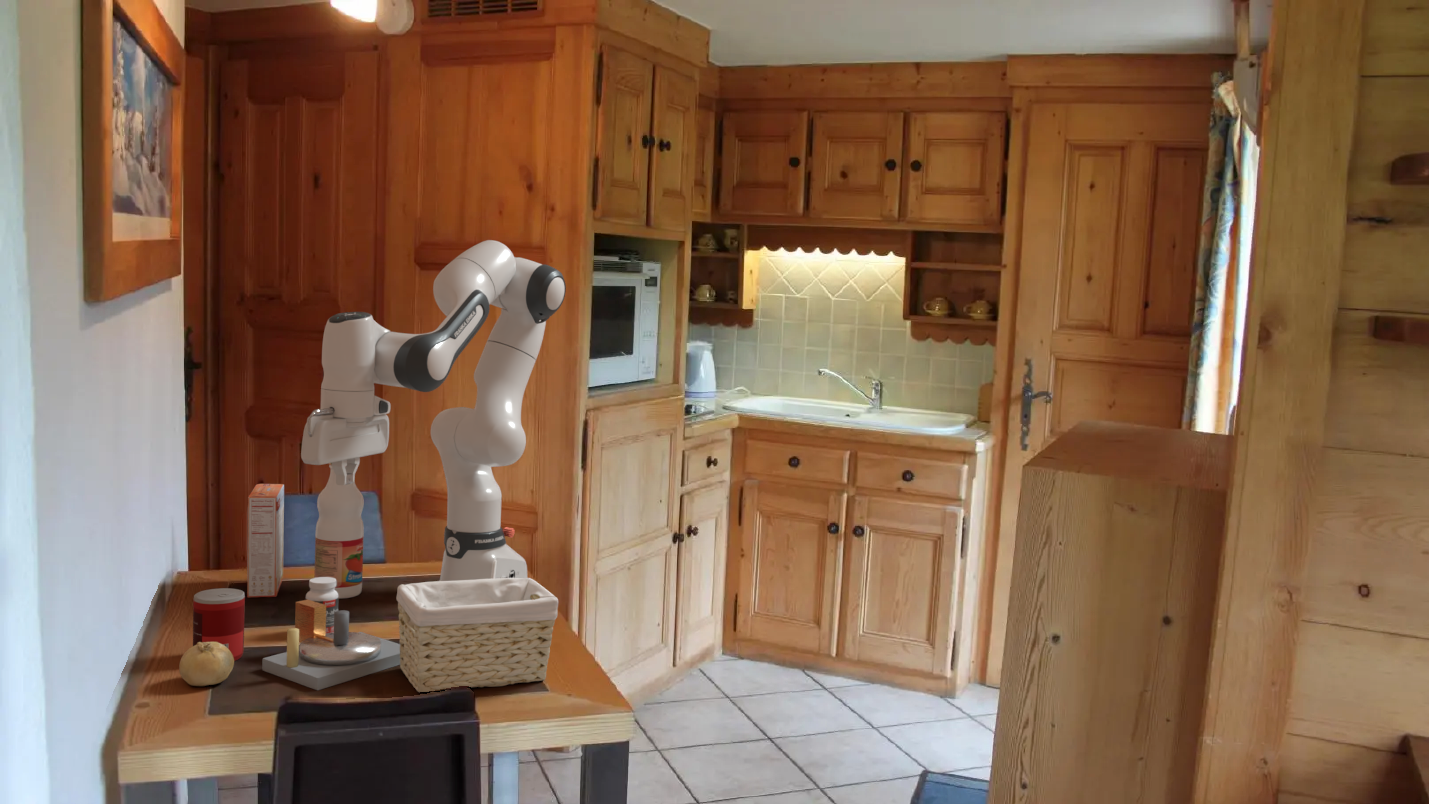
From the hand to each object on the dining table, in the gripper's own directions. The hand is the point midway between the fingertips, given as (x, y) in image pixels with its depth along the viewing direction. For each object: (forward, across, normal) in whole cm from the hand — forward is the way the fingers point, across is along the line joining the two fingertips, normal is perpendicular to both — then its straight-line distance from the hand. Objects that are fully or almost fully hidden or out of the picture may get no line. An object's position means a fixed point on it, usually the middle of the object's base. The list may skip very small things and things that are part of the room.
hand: (345, 484), depth 197 cm
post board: (+29, -8, -6) cm, 31 cm away
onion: (+29, -24, +7) cm, 39 cm away
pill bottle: (+29, +5, +8) cm, 31 cm away
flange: (+27, -8, -4) cm, 28 cm away
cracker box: (+29, +24, +36) cm, 52 cm away
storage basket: (+29, -3, -28) cm, 41 cm away
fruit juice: (+29, +28, +21) cm, 46 cm away
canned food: (+29, -14, +14) cm, 35 cm away
